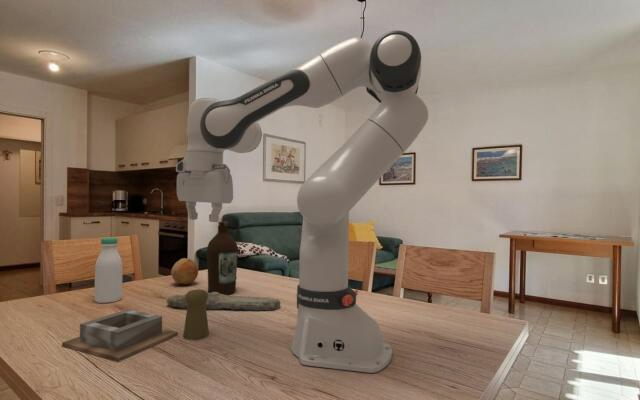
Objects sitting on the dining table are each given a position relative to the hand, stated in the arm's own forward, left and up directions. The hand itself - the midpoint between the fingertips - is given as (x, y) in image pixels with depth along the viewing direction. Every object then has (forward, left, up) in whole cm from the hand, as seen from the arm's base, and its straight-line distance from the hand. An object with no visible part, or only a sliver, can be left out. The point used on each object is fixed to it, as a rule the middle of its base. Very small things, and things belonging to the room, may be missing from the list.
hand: (203, 220), depth 91 cm
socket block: (+13, +12, -28) cm, 33 cm away
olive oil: (+20, -33, -28) cm, 48 cm away
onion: (+40, -36, -28) cm, 61 cm away
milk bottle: (+46, -9, -28) cm, 55 cm away
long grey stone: (+9, -20, -29) cm, 36 cm away
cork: (0, +2, -28) cm, 28 cm away
